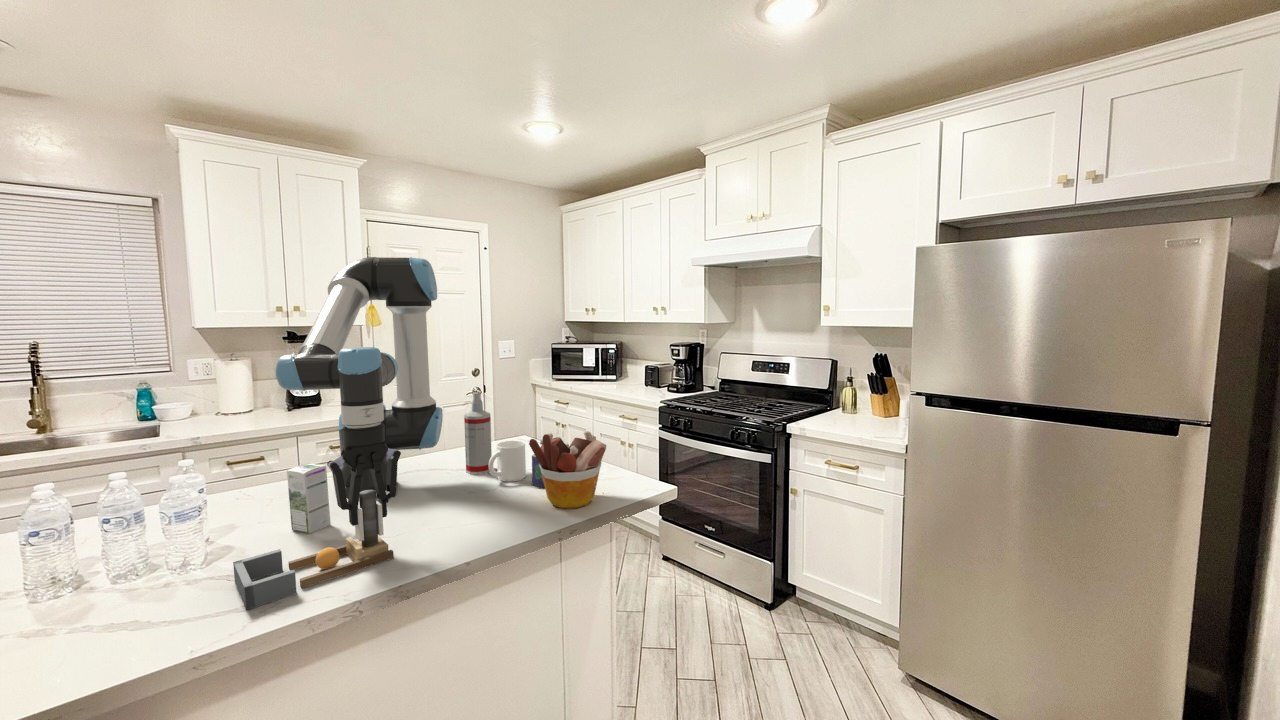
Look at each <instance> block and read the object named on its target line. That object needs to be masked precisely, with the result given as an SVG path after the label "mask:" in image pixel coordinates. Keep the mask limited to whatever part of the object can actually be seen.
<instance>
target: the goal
mask: <svg viewBox="0 0 1280 720" xmlns="http://www.w3.org/2000/svg"><path fill="white" fill-rule="evenodd" d="M232 563H233V576H234V584H235V586H236V589H237V591H238V593H239V596H240V598H241V601H242V603H243V605H244V608H245V611H248V610H251V609H254V608H257V607H259V606H264V605H266V604H269V603H272V602H274V601H277V600H281V599H283V598H287V597H289V596H290V597H291V596H293V595H295V594H297V580H296V571H295V570H291V571H290V570H289V571H284V569H283V555H282V550H281V548H279V549H276V550H272V551H268V552H264V553H261V554H257V555H254V556H250V557H247V558H244V559H240V560H235V561H233V562H232ZM280 572H282V573H280ZM277 573H278V574H277ZM271 575H272V576H271ZM263 577H265V578H263ZM261 578H262V579H261ZM257 579H258V580H257ZM254 580H255V581H254Z"/></svg>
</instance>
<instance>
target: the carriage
mask: <svg viewBox="0 0 1280 720" xmlns="http://www.w3.org/2000/svg"><path fill="white" fill-rule="evenodd" d="M376 501H377V495H376V491H375V490H365V491H361V492H360V495H359V507H360V508H361V509H362V512H363V530H364V541H359V540H357V541H358V542H357V541H356V540H355V539H354V538H353V537H351V536H350V537H346V538H345V545H346V551H347V554H346V555H348V557H349V558H350V559H351V560H352V562H354V561H357V560H360V559H363V558H366V557H370V556H373V555H376V554H379V553H382V552H385V551H388V550H389V544H388V543H387V542H386V541H385V540H384V539H382V538H381V537H380V536H379V535H378V527H377V509H376Z"/></svg>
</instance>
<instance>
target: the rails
mask: <svg viewBox="0 0 1280 720" xmlns="http://www.w3.org/2000/svg"><path fill="white" fill-rule="evenodd" d="M358 541H359V540H357V541H356V542H358ZM334 548H335V549H336V550H337V551H338V552H339V557H340V556H343V555H348V554H347V551H346V544H344V545H341V546H338V547H334ZM318 553H319V552H317V553H313V554H311V555H307V556H303V557H300V558H297V559H294V560H290V561H288V569H289V571H291V570H294V571H295V570H298V569H300V568H304V567H307V566H311V565H314V564H316V556H317V554H318ZM394 555H395V554H394V550H393V549H388V551H385V552H382V553H379V554H376V555H373V556H370V557H366V558H363V559H360V560H357V561H352V562H348V563H345V564H342V565H338V566H336V567H335V566H334V567H332V568H330V569H325V570H323V571H320V572H317V573H313V574H309V575H307V576H304V577H300V578H299V587H300V589H306V588H308V587H311V586H314V585H316V584H319V583H323V582H326V581H328V580H332V579H334V578H338V577H341V576H344V575H347V574H350V573H353V572H356V571H359V570H362V569H364V568H365V567H366V568H368V567H371V565H372V566H374V565H377V564H381V563H384V562H386V561H389V560H392V559H394ZM366 568H365V569H366Z"/></svg>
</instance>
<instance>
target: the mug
mask: <svg viewBox="0 0 1280 720" xmlns="http://www.w3.org/2000/svg"><path fill="white" fill-rule="evenodd" d="M495 460H496V464H497V465H496V467H497V468H496V469H497V471H495V469H494V463H495ZM526 461H527V460H526V443H525V441H521V440H507V441H502V442H499V443H497V444H496V452H494V453H493V454H492V456H491V458H490V460H489V471H490V472H489V473H490V474H491V475H492V476H493V477H497V479H498V480H499V481H502V482H505V483H506V482H507V483H508V482H510V483H511V482H518V481H521V480H523V479H524V478H525V477H526V475H527V471H526V469H527V464H526V463H527V462H526Z"/></svg>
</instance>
